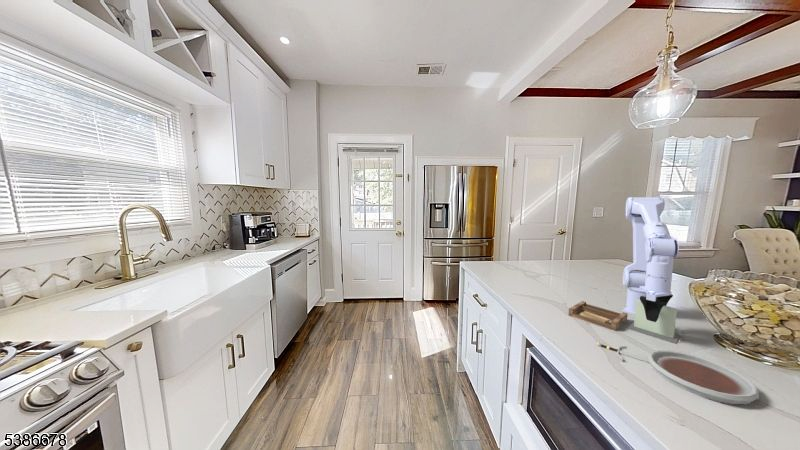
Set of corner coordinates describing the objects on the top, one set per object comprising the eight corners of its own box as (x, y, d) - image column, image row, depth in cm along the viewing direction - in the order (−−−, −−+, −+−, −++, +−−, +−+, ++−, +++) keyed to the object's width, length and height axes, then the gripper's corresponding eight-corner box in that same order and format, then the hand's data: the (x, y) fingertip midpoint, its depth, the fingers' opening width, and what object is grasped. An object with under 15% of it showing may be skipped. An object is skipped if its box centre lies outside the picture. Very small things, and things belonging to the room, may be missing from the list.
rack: (582, 308, 99) (582, 301, 99) (626, 321, 88) (627, 313, 88) (568, 316, 93) (568, 308, 92) (615, 331, 81) (615, 323, 81)
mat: (634, 322, 87) (634, 321, 87) (681, 336, 78) (681, 334, 78) (626, 329, 83) (627, 327, 83) (675, 345, 74) (675, 343, 74)
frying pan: (600, 328, 80) (749, 368, 60) (600, 337, 80) (748, 380, 60) (590, 351, 68) (771, 410, 48) (589, 361, 68) (770, 424, 48)
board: (635, 324, 85) (637, 299, 84) (674, 336, 77) (676, 308, 76) (633, 326, 84) (635, 300, 83) (673, 338, 76) (675, 309, 76)
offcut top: (584, 314, 93) (584, 311, 93) (609, 322, 87) (609, 319, 86) (579, 316, 91) (579, 313, 91) (604, 325, 85) (604, 322, 85)
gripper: (647, 269, 86) (643, 307, 87) (634, 276, 78) (631, 318, 79) (677, 274, 80) (673, 315, 82) (667, 282, 72) (662, 327, 74)
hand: (654, 317), depth 80 cm, fingers open, 7 cm apart
